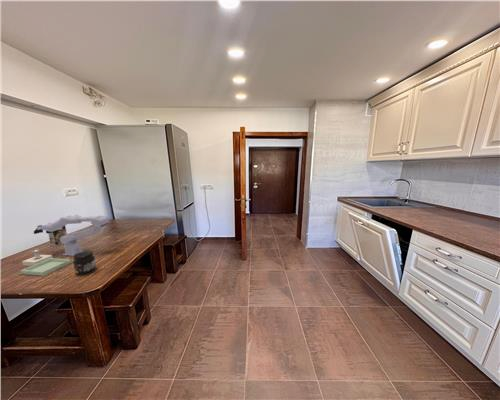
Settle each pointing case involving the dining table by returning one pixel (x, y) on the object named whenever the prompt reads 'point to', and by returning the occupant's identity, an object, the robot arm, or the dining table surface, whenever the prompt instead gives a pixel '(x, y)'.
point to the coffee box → (57, 236)
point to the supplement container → (84, 262)
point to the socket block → (32, 260)
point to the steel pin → (36, 254)
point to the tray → (45, 267)
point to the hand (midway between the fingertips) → (40, 232)
